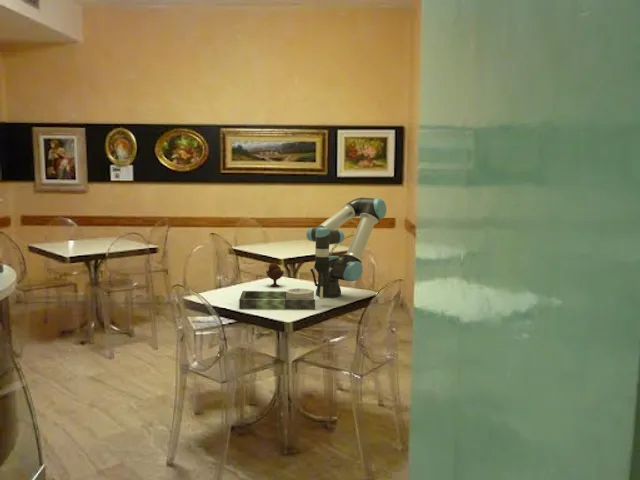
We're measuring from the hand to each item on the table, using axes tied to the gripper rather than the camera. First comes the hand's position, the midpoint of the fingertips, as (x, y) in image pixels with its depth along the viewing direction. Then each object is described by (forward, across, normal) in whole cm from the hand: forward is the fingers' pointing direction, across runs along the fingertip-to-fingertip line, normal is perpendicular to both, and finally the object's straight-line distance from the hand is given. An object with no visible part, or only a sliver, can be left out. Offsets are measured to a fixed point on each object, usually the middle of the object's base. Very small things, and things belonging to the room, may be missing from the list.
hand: (321, 298), depth 315 cm
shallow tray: (+4, -24, 0) cm, 24 cm away
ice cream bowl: (+4, -26, +50) cm, 57 cm away
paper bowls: (+4, -12, 0) cm, 12 cm away
